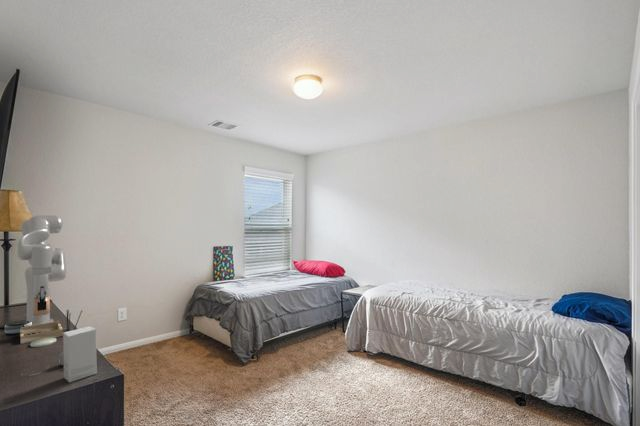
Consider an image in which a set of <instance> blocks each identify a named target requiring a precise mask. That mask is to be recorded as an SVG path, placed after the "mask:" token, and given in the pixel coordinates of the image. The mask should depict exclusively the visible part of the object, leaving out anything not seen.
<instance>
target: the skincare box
mask: <svg viewBox="0 0 640 426" xmlns="http://www.w3.org/2000/svg"><path fill="white" fill-rule="evenodd" d="M62 339H63V340H62V341H63V349H62V350H64V365H63V378H64V379H65V380H66V381H67V382H68V383H72V382H77V381H79V380H81V379H84V378H88V377H90V376H93V375H96V374H97V373H98V369H97V368H98V367H97V329H96V328H95V327H92V326H85V327H81V328H80V327H79V328H77V329H76V328H75V330H74V329H72V330H69V331H68V332H67V331H63V336H62Z"/></svg>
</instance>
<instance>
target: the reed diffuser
mask: <svg viewBox="0 0 640 426" xmlns="http://www.w3.org/2000/svg"><path fill="white" fill-rule="evenodd" d="M69 311H70V310H69V309H67V310H66V332H68V331H70V324H71V314H72V313H71V312H70V313H69ZM82 313H83V310H81V311H80V313H79V316H78V319H77V321H76V323H75V326H74V327H73V330H76V327H77V325H78V322H79V320H80V317H81V314H82ZM58 359H59V360H58V362H59V365H61V366H64V349H62V351H61V352H60V353H59V357H58Z"/></svg>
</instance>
